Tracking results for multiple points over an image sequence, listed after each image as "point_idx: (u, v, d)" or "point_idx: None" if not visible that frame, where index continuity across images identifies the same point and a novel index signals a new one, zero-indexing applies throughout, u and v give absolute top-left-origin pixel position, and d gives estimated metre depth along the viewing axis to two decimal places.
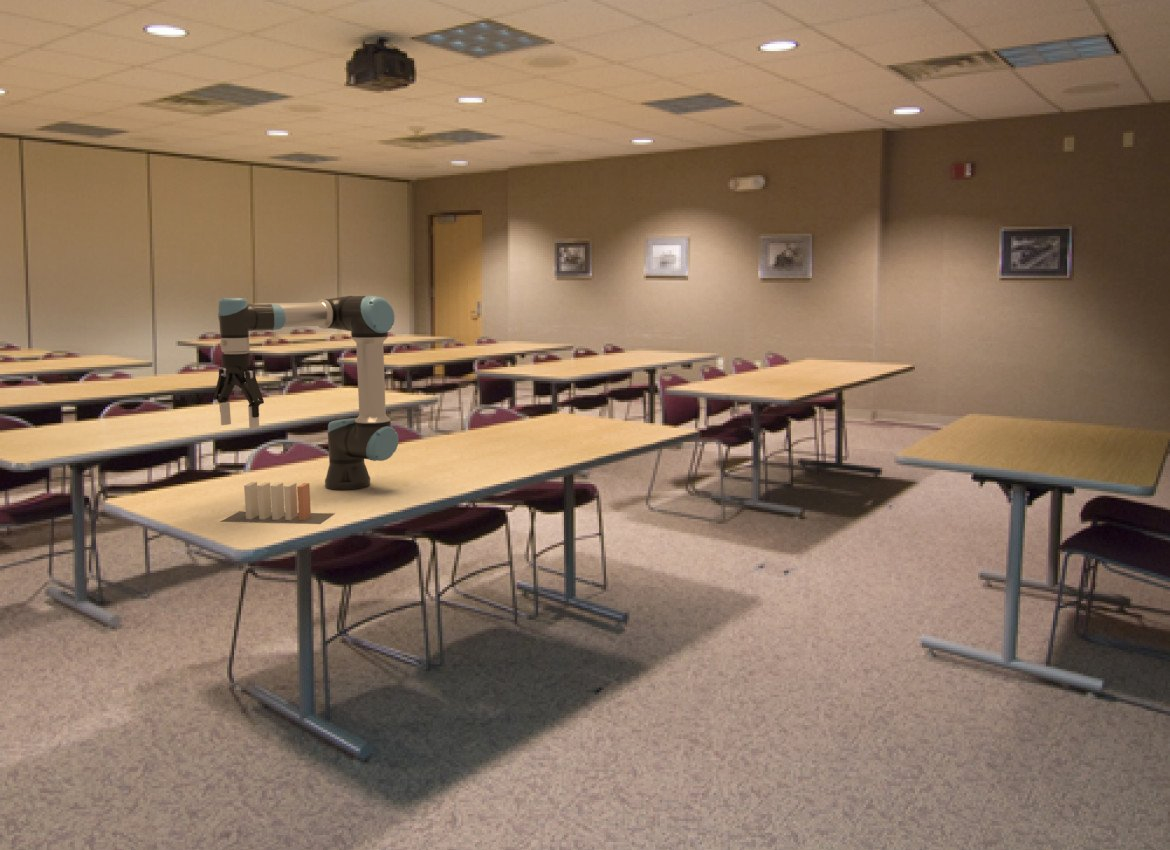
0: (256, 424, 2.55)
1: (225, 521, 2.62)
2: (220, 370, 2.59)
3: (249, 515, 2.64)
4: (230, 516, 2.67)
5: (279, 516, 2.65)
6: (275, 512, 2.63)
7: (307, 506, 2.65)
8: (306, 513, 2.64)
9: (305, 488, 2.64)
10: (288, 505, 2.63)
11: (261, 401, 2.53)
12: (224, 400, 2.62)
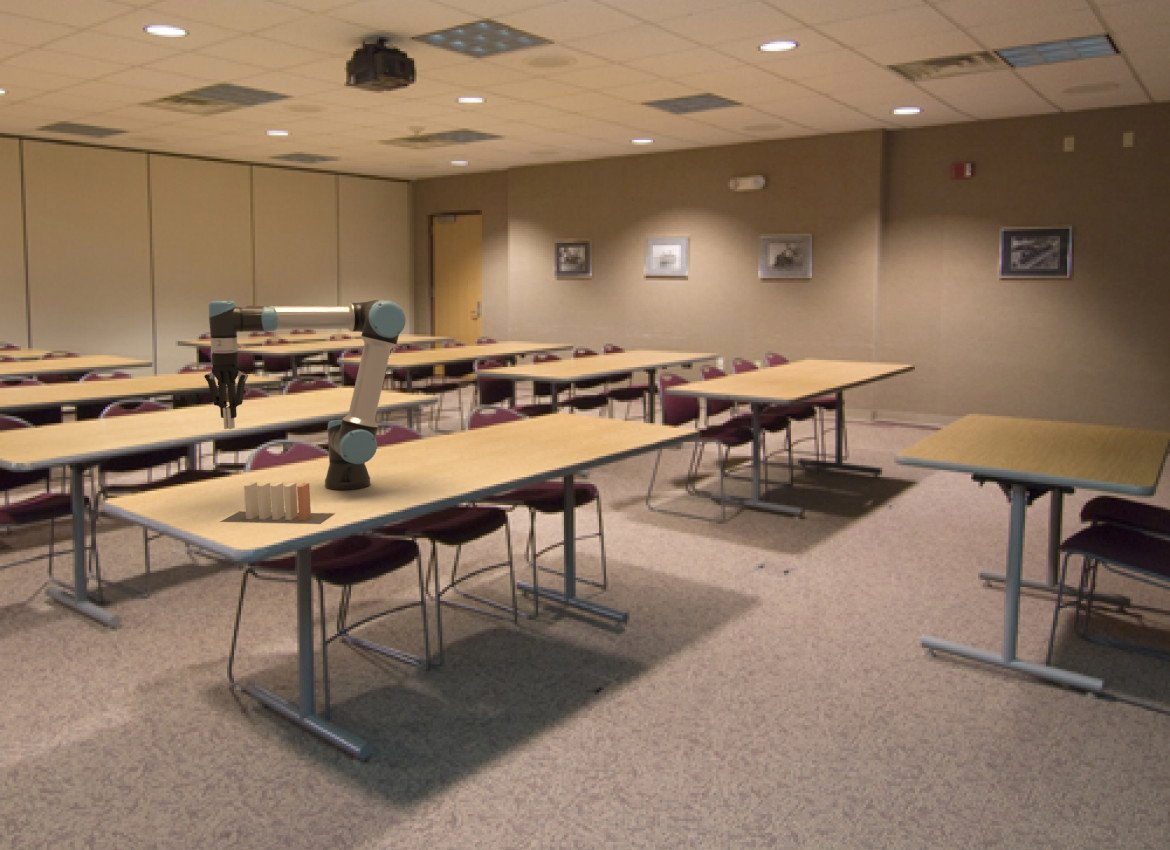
0: (233, 424, 2.78)
1: (225, 521, 2.62)
2: (206, 375, 2.75)
3: (249, 515, 2.64)
4: (230, 516, 2.67)
5: (279, 516, 2.65)
6: (275, 512, 2.63)
7: (307, 506, 2.65)
8: (306, 513, 2.64)
9: (305, 488, 2.64)
10: (288, 505, 2.63)
11: (240, 402, 2.77)
12: (225, 404, 2.77)
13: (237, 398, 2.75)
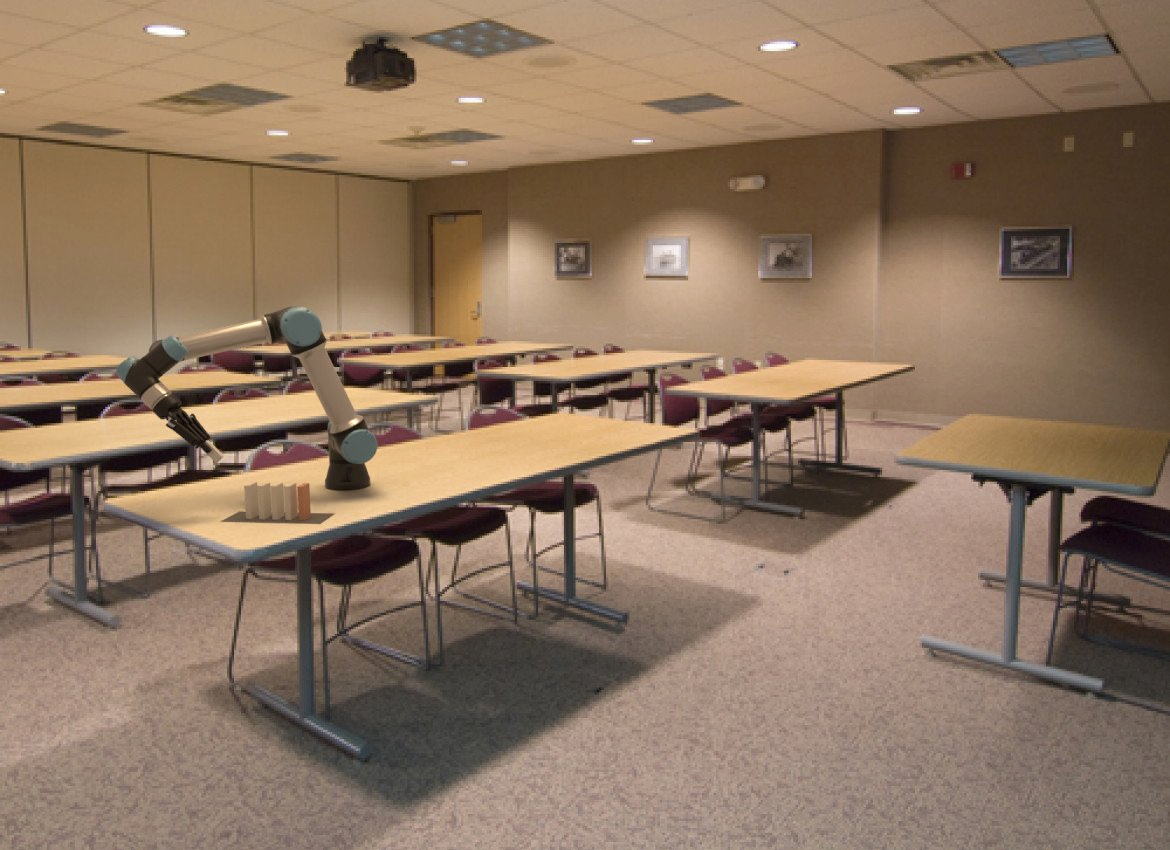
0: (216, 456, 2.64)
1: (225, 521, 2.62)
2: None
3: (249, 515, 2.64)
4: (230, 516, 2.67)
5: (279, 516, 2.65)
6: (275, 512, 2.63)
7: (307, 506, 2.65)
8: (306, 513, 2.64)
9: (305, 488, 2.64)
10: (288, 505, 2.63)
11: (195, 440, 2.61)
12: (203, 440, 2.65)
13: None
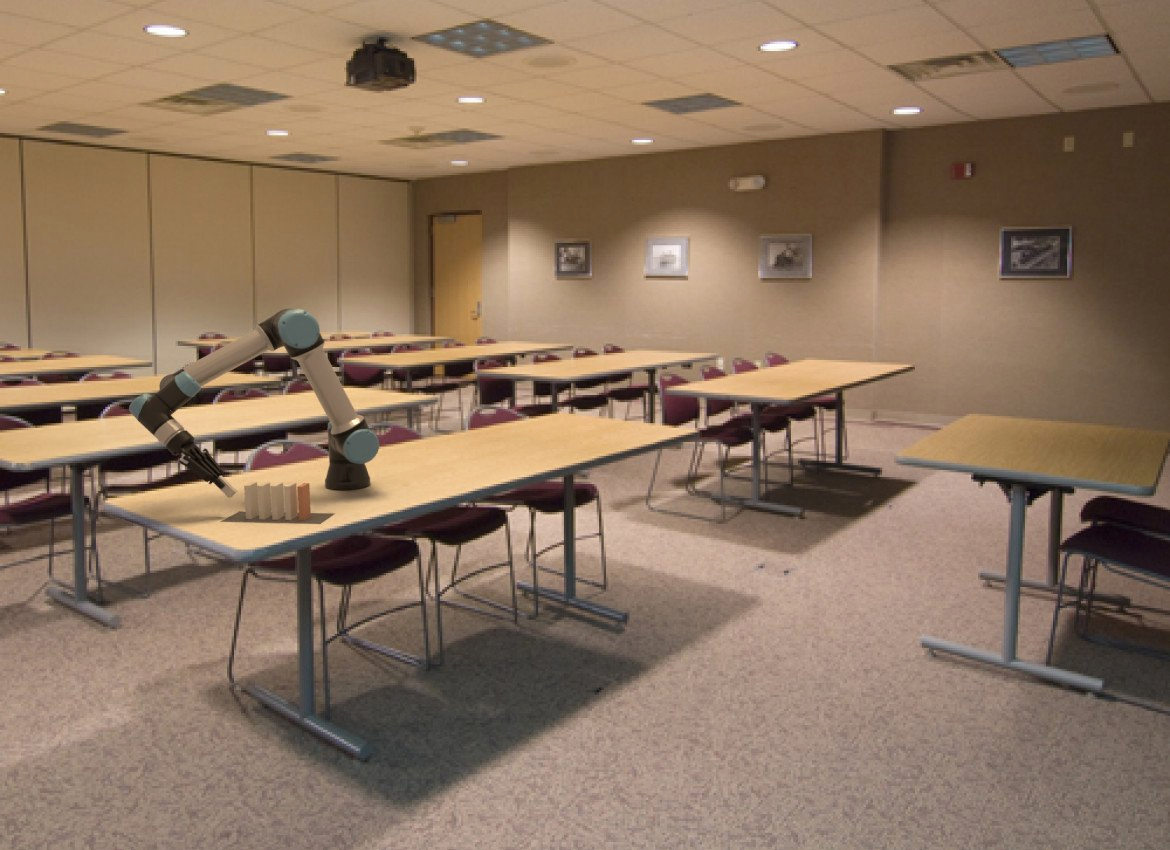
0: (230, 491, 2.65)
1: (225, 521, 2.62)
2: None
3: (249, 515, 2.64)
4: (230, 516, 2.67)
5: (279, 516, 2.65)
6: (275, 512, 2.63)
7: (307, 506, 2.65)
8: (306, 513, 2.64)
9: (305, 488, 2.64)
10: (288, 505, 2.63)
11: (208, 476, 2.62)
12: (216, 475, 2.67)
13: None
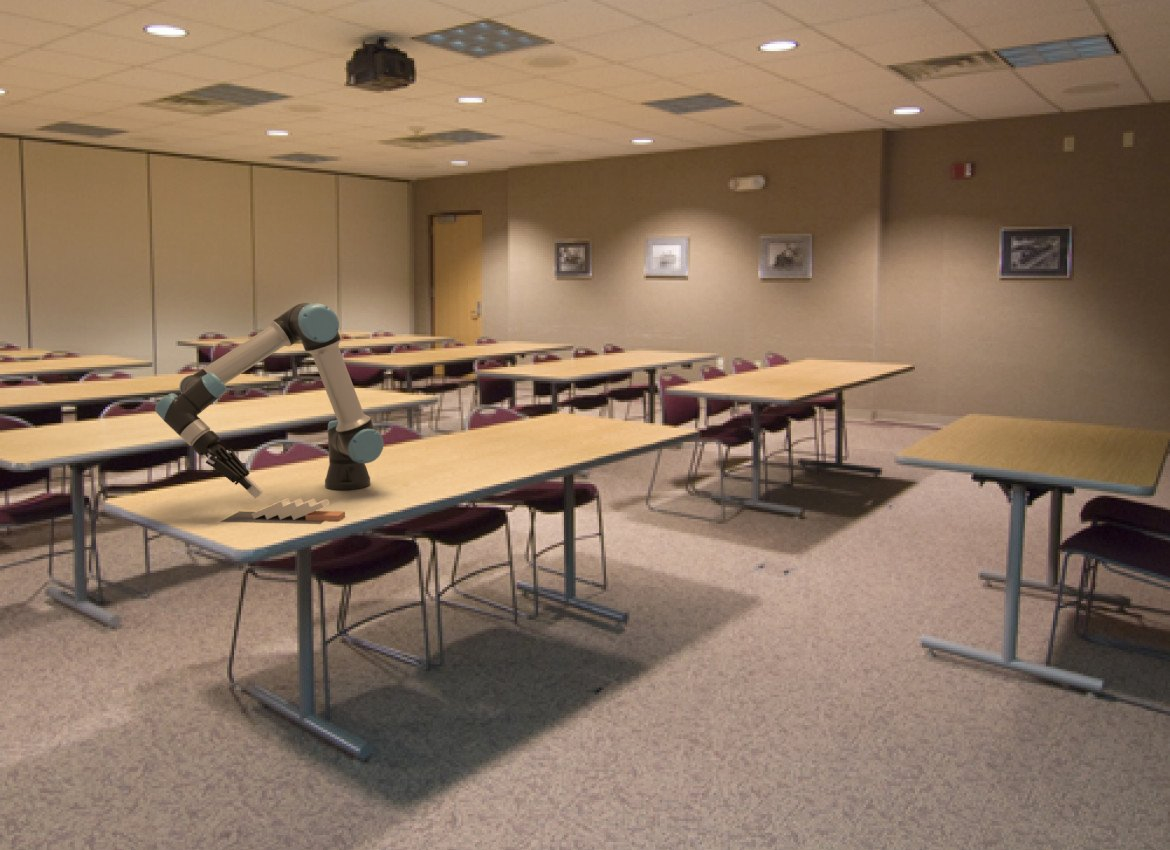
0: (256, 491, 2.65)
1: (225, 521, 2.62)
2: None
3: (256, 516, 2.64)
4: (230, 516, 2.67)
5: None
6: (286, 515, 2.63)
7: None
8: None
9: None
10: (305, 513, 2.62)
11: (235, 477, 2.62)
12: (242, 476, 2.66)
13: None
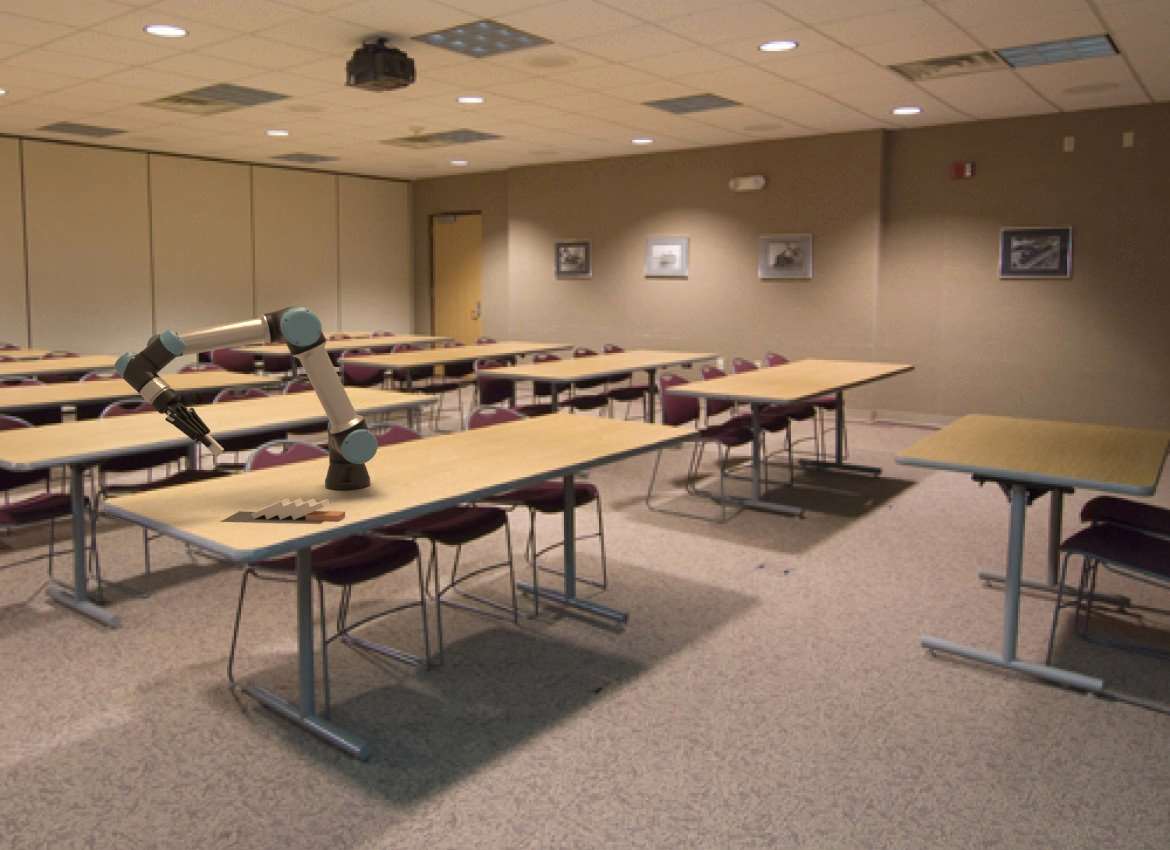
0: (216, 449, 2.64)
1: (225, 521, 2.62)
2: None
3: (256, 516, 2.64)
4: (230, 516, 2.67)
5: None
6: (286, 515, 2.63)
7: None
8: None
9: None
10: (305, 513, 2.62)
11: (195, 434, 2.61)
12: None
13: None
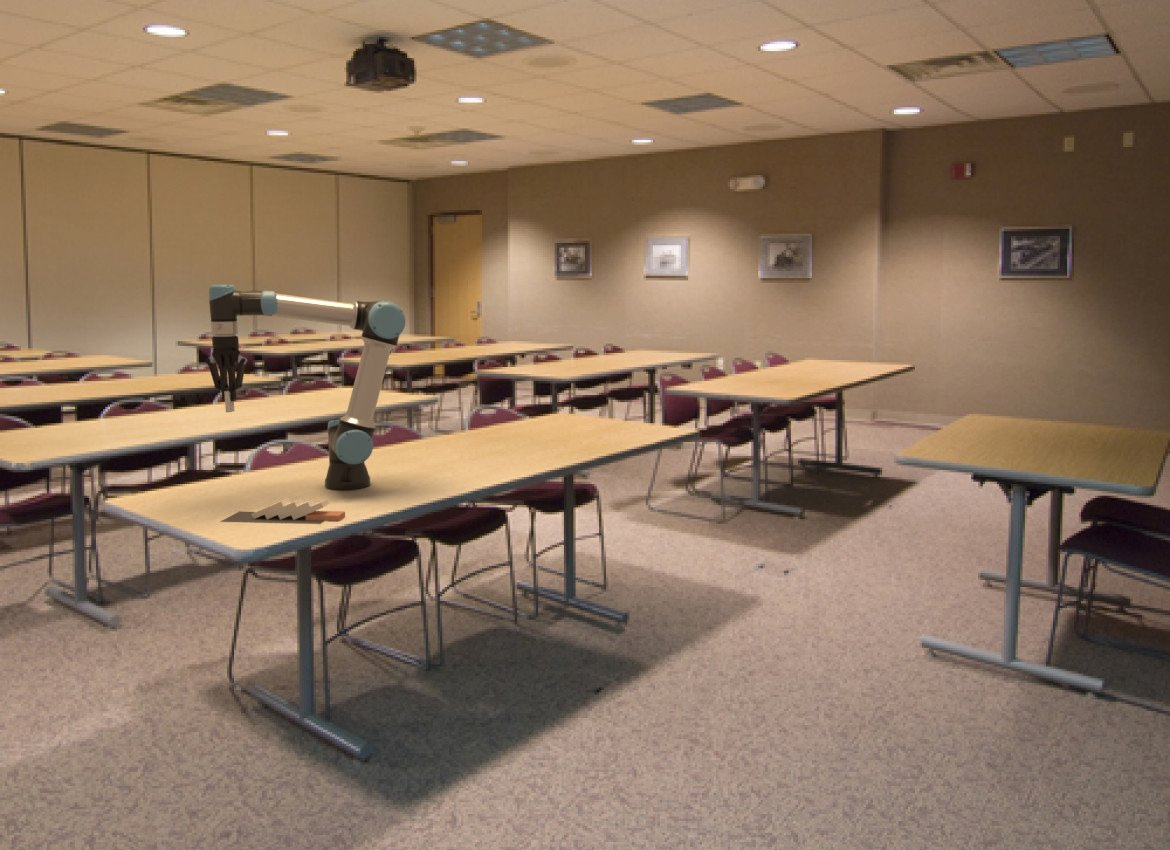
0: (232, 407, 2.80)
1: (225, 521, 2.62)
2: (207, 359, 2.77)
3: (256, 516, 2.64)
4: (230, 516, 2.67)
5: None
6: (286, 515, 2.63)
7: None
8: None
9: None
10: (305, 513, 2.62)
11: (240, 386, 2.79)
12: (226, 387, 2.79)
13: (237, 381, 2.77)
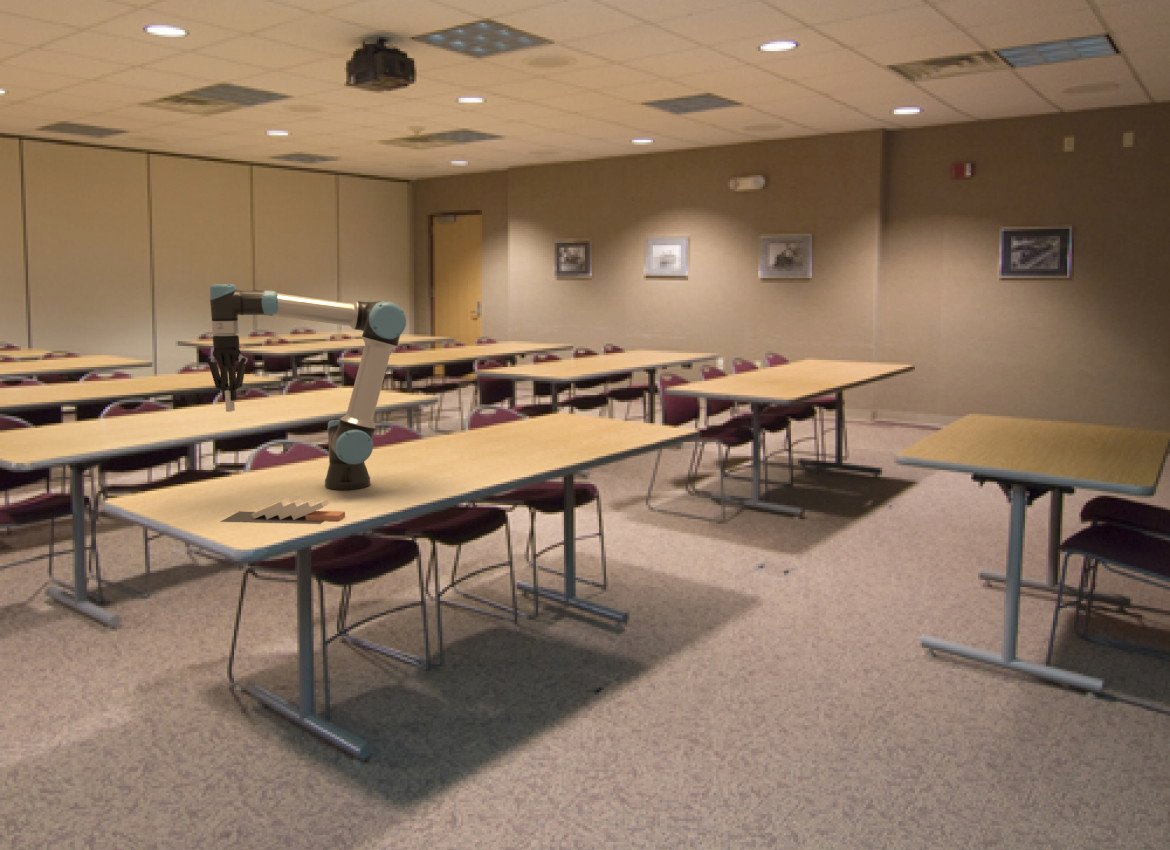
0: (233, 407, 2.80)
1: (225, 521, 2.62)
2: (207, 358, 2.77)
3: (256, 516, 2.64)
4: (230, 516, 2.67)
5: None
6: (286, 515, 2.63)
7: None
8: None
9: None
10: (305, 513, 2.62)
11: (240, 385, 2.79)
12: (226, 387, 2.79)
13: (237, 381, 2.77)
